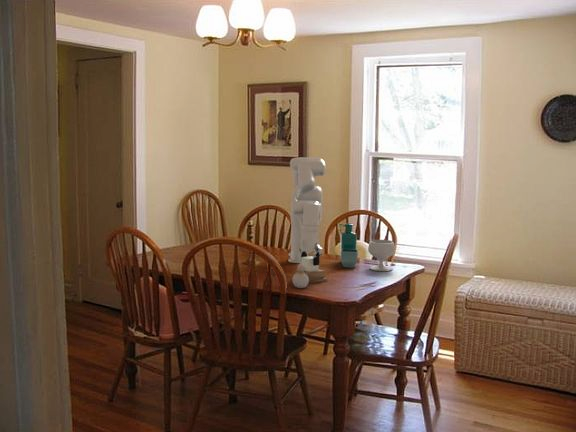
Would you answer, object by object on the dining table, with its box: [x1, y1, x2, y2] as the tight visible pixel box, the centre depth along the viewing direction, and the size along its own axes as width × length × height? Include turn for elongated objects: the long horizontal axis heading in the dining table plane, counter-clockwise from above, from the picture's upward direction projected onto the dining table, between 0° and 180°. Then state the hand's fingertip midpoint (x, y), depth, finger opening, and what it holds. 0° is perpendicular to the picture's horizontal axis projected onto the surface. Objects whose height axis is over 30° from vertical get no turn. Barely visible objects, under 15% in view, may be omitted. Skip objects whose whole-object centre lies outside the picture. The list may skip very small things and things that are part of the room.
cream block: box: [301, 255, 320, 272], centre depth 296 cm, size 6×6×6 cm
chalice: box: [367, 239, 396, 272], centre depth 324 cm, size 14×14×15 cm
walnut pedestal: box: [291, 268, 328, 285], centre depth 297 cm, size 12×12×5 cm
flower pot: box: [340, 249, 359, 269], centre depth 330 cm, size 9×9×9 cm
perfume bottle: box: [291, 262, 309, 289], centre depth 280 cm, size 8×10×12 cm
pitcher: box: [338, 222, 358, 264], centre depth 342 cm, size 10×8×22 cm
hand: (309, 263), depth 296 cm, fingers open, 9 cm apart
